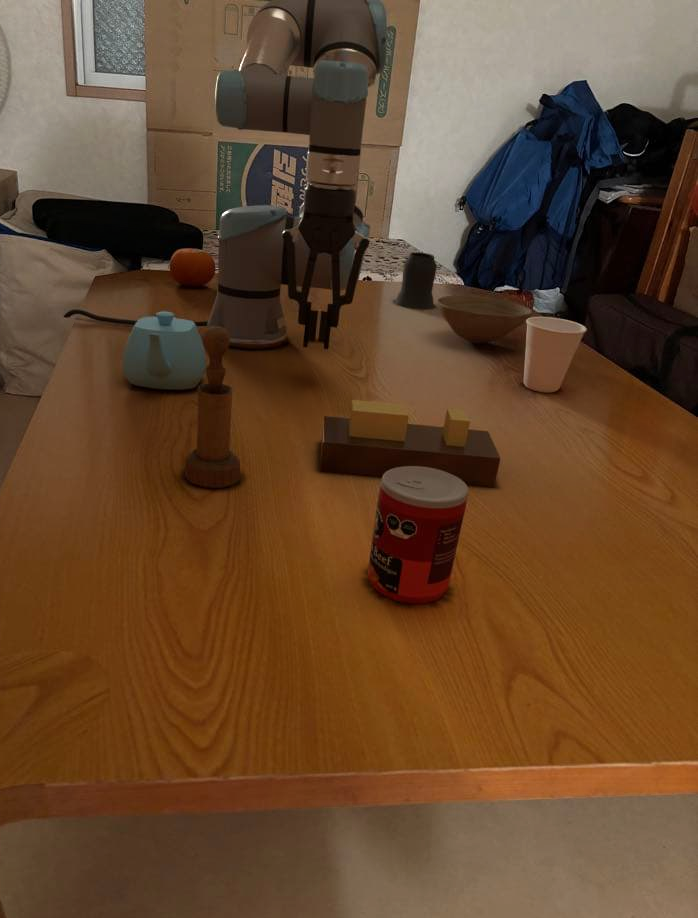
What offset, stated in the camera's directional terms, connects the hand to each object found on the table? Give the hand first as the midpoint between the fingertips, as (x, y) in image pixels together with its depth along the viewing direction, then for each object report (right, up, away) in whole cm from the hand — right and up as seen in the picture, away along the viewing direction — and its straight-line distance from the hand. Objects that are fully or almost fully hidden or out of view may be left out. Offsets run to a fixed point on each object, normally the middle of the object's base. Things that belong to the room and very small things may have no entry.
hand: (315, 345), depth 124 cm
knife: (0, -1, -6) cm, 6 cm away
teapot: (-24, -7, -3) cm, 25 cm away
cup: (+40, -5, +11) cm, 41 cm away
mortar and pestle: (-13, -24, -31) cm, 41 cm away
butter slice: (+17, -18, -25) cm, 35 cm away
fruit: (-28, +29, +59) cm, 71 cm away
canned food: (+8, -36, -48) cm, 60 cm away
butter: (+7, -17, -25) cm, 31 cm away
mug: (+25, +26, +61) cm, 71 cm away
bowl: (+34, +9, +34) cm, 49 cm away
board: (+11, -21, -23) cm, 33 cm away
